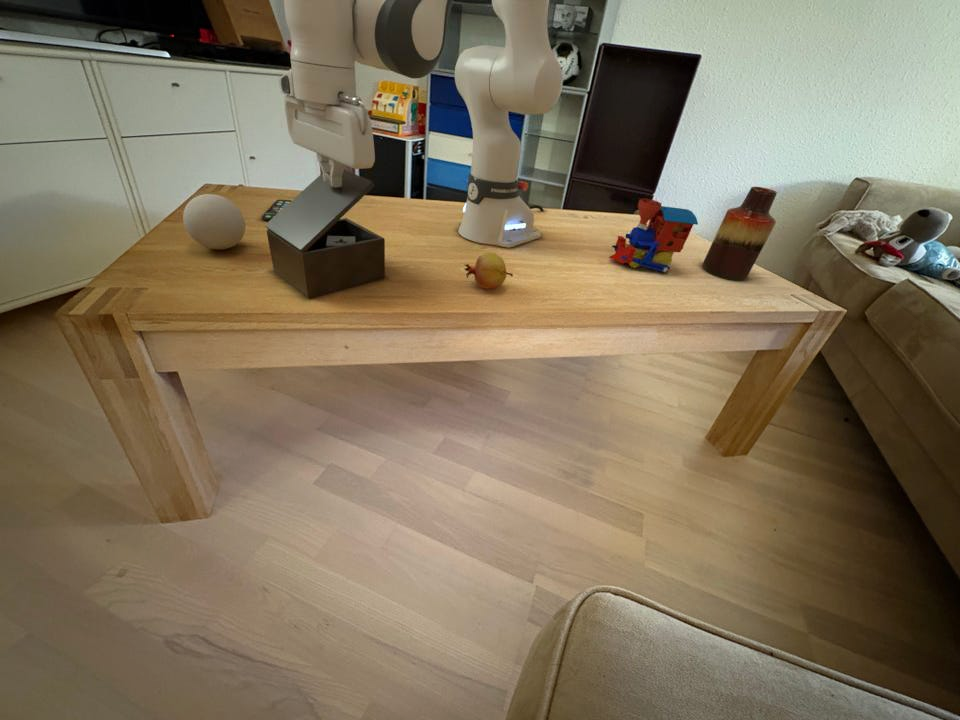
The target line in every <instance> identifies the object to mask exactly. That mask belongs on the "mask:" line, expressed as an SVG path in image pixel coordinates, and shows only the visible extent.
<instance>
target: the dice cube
mask: <svg viewBox="0 0 960 720" xmlns="http://www.w3.org/2000/svg"><path fill="white" fill-rule="evenodd" d="M349 243H355V237H350V236H327V242H326V248H329V247H334V246H339V245H344V244H349Z"/></svg>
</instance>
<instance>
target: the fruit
mask: <svg viewBox="0 0 960 720" xmlns="http://www.w3.org/2000/svg"><path fill="white" fill-rule="evenodd" d="M463 265H464V266H465V268H464V270H465V271H466V274H465V277H466V278H467V279H468V278H469V277H470V275H474V281H475V283H476V284H477V285H478V286H479V287H480V288H483V289H488V290H491V289H496V288H498V287H500V286H502V285H503V283H504V282H505V281H506V278H507V275H509V276H511V277H514V273H512V272H507V269H506V268H507V267H506V263H505V260H504V259H503V258H502V257H501V256H500V255H498V254H497V253H495V252H484V253H481V254H480V255H479V256H478V257H477V259H476V261H475V265H473V266H471V265H470V264H469V263H467V264H463Z"/></svg>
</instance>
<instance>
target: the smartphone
mask: <svg viewBox="0 0 960 720" xmlns="http://www.w3.org/2000/svg"><path fill="white" fill-rule="evenodd" d="M292 200H293V199H292ZM292 200H291V199H290V200H289V199H276V201H274V203H273V204H272V205H271V206H270V207H269V208H268V209H267V210H266V211H265V212H264V214H262V216H261V220H262V221H267V222H269V221H270V220H271V219H272V218H273V217H274V216H275V215H277V214H278V213H279V212H280V211H281V210H282V209H283V208H284V207H285V206H286V205H288V204H289V203H290V202H291V201H292Z"/></svg>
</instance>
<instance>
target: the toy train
mask: <svg viewBox="0 0 960 720" xmlns="http://www.w3.org/2000/svg"><path fill="white" fill-rule="evenodd" d="M637 208H638V209H637V210H638V214H639V217H640V220H639V222H638V224H637V225H636V227H633V228H632V230H631V231H630V233H626V234H625V237H624V236H623V235H618V236H617V239H616V243H615V244H612V246H611V248H613V249H614V252H615V253H614V254H612V255H610V256H608V258H609V259H611V260H614V261H616V262H618V263H621V264H625V263H626V264H628V265H629V266H630V268H634V269H637V268H638V267H644V268H648V269H651V270H654V271H657V272H662V273H664V274H667V273H668V272H669V270H670V265H671V263H672V262H673V255H674V254H675V253H681V252H682V250H683V249H684V246H685V243H686V241H687V239H688V237H689V236H690V233H691V230H692V229H693V226H694V225H699V222H698V219H697V216H696V215H695V213H694V212H693V211H692V210H690V209H688V208H680V207H671V206H663V205H662V202H660V201H657V200H655V199H652V198H651V199H650V198H639V200H638V203H637ZM648 221H649V222H648ZM647 223H648V224H647ZM627 240H628V243H627Z"/></svg>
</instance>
